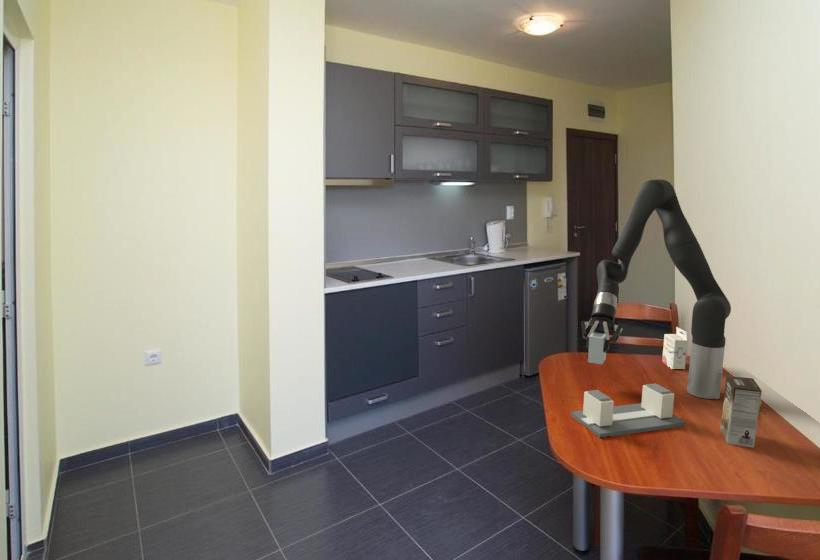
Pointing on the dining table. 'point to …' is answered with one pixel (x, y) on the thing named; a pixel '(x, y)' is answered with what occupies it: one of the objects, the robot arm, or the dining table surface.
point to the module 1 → (598, 407)
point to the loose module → (596, 348)
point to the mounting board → (629, 421)
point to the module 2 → (657, 400)
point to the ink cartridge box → (675, 349)
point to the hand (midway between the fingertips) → (596, 350)
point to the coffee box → (740, 411)
